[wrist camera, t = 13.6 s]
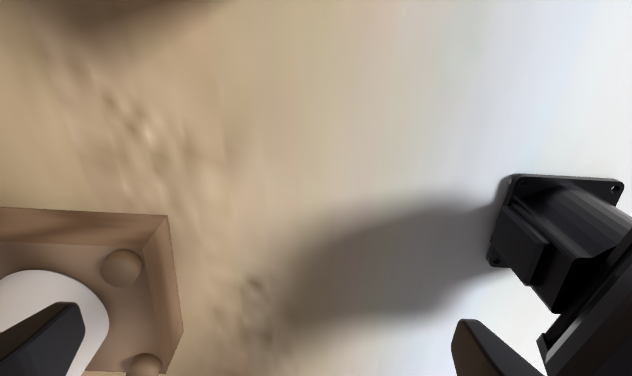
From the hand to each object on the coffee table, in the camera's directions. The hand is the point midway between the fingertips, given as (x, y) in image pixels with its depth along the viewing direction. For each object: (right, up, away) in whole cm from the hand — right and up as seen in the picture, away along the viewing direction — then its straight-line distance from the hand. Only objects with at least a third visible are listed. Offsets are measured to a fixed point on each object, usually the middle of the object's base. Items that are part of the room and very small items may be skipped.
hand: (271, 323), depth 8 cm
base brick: (-15, -3, +16) cm, 22 cm away
